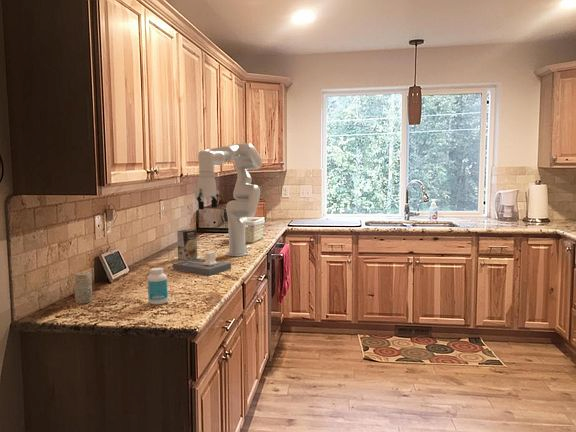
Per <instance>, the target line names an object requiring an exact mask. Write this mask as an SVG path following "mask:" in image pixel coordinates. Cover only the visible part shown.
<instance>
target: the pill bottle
mask: <svg viewBox="0 0 576 432" xmlns="http://www.w3.org/2000/svg"><path fill="white" fill-rule="evenodd" d="M146 279H147V295H148V296H147V297H148V303H149V304H150V305H155V306H156V305H159V306H160V305H163V304H166V303H168V301H169V292H168V290H169V289H168V276H167V274H165V273H164V268H163V267H152V268H150V274H149V275H148V276H147V278H146Z"/></svg>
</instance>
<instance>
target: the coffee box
mask: <svg viewBox="0 0 576 432" xmlns="http://www.w3.org/2000/svg"><path fill="white" fill-rule="evenodd" d="M176 234H177V235H176V236H177V259H178V260H182V261H186V260H190V259H194V258H198V239H197V238H198V232H197V229H191V228H189V229H181V230H177V233H176Z"/></svg>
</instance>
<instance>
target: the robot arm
mask: <svg viewBox="0 0 576 432" xmlns="http://www.w3.org/2000/svg"><path fill="white" fill-rule="evenodd" d="M197 160H198V174H199V175H198V176H199V177H198V178H197V185H196V187H197V188H196V192H194V196H195V199H196V201H197V202H198V204H197V205H198V206H197V207H198V210H204V209H205V203H204V202H205V201H204V199H205V198H211V208H213V209H214V208H218V203H217V202H218V198H219V194H220V191H219V190H218V189H217V184H216V178H215V166H219V165H223V164H224V163H227V162H231V161H233V164H234V167H235V171H236V176H237V178H236V182H235V185H234V189H233V193H232V194H233V195H232V196H233V198H234V200H231V201H230V200H229V201H228V202H227V204H226V205H225V210H226V215H227V224H228V225H227V226H228V251H227V252H226V256H228V257H244V256H248V255H249V251H247V250H250V249H251V246H250V245H246V243H245V223H244V221H243V219H242V218H245V217H255V215H256V212H257V210H258V205H259V203H260V199H261V189H260V187H259V186H258V185H257V184H253V183H252V176H251V173H249V172H248V170H260V169H261V167H262V165H263V158H262V157H261V155H260V154H259V152H258V151H257V148H256V147H255V146H254V145H253V144H252V143H250V142H247V143H245V142H244V143H239V142H238V143H232V144H229V145H225V146H219V147H215V148H214V147H213V148H207V149H204V150H200V151H199V152H198V155H197Z"/></svg>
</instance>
